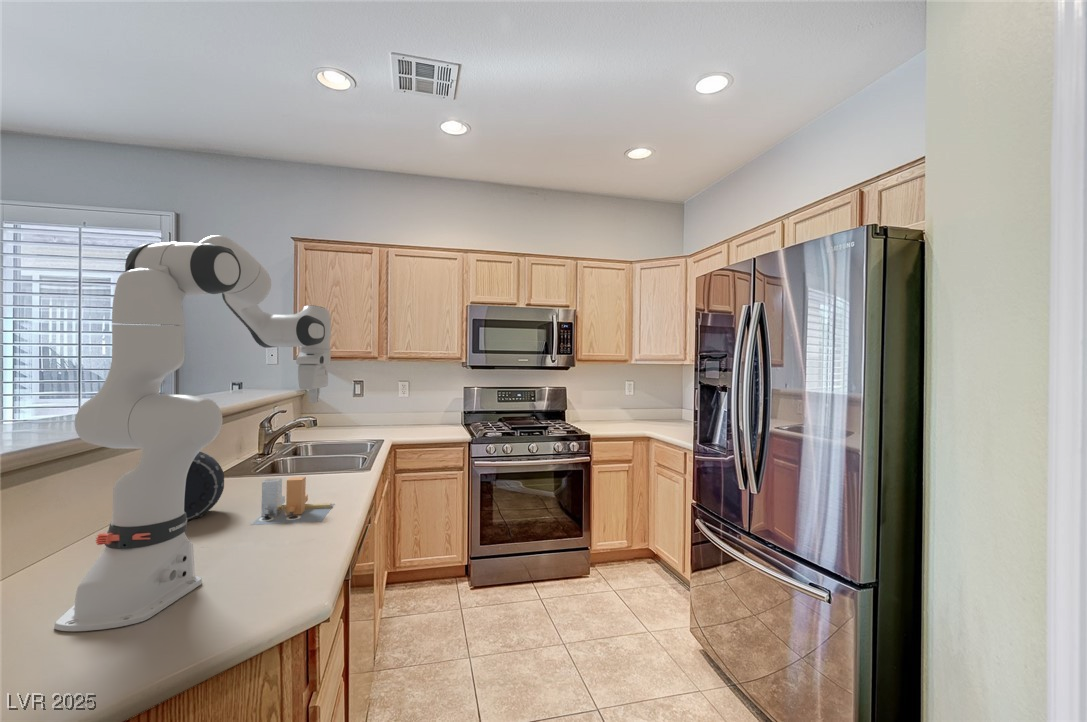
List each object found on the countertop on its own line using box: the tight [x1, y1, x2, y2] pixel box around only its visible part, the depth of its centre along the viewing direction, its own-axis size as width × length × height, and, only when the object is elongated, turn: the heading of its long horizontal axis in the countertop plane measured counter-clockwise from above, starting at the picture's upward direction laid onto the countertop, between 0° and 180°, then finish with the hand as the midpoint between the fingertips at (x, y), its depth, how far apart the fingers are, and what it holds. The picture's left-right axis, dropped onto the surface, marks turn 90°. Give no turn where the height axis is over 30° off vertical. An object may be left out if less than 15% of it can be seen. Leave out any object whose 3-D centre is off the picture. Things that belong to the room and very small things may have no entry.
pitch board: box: [250, 502, 335, 526], centre depth 139 cm, size 17×18×2 cm
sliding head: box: [285, 476, 309, 516], centre depth 140 cm, size 12×4×10 cm, turn 12°
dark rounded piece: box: [184, 451, 225, 522], centre depth 135 cm, size 11×20×20 cm, turn 119°
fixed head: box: [260, 477, 286, 518], centre depth 139 cm, size 12×4×10 cm, turn 12°
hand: (314, 402), depth 148 cm, fingers closed
